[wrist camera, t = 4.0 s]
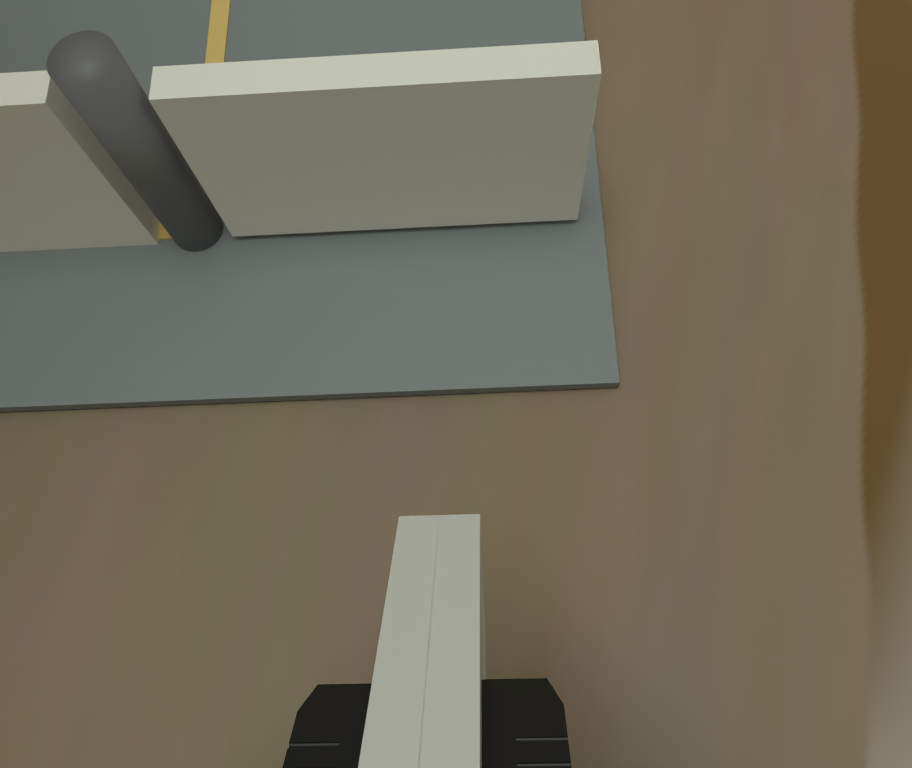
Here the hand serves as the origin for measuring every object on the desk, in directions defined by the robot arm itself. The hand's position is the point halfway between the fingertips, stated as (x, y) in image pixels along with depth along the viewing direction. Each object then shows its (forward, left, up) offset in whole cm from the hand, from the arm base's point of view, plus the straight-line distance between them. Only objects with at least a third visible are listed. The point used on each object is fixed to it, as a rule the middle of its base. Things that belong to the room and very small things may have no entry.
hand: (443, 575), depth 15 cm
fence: (-15, +15, -11) cm, 24 cm away
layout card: (-8, +19, -11) cm, 23 cm away
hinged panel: (-2, +15, -10) cm, 18 cm away
